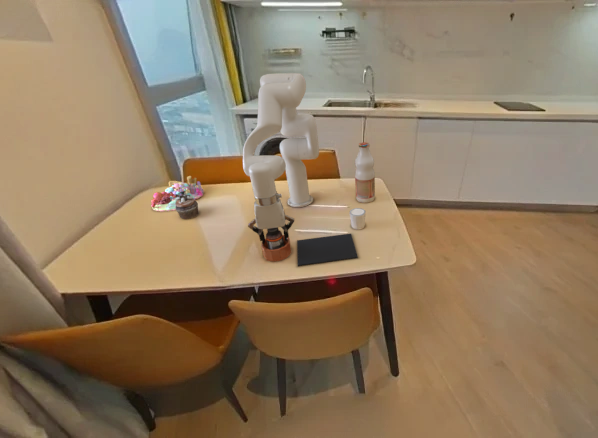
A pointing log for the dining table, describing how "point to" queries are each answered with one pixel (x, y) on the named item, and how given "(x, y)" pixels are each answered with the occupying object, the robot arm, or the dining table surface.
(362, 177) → the fruit juice
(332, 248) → the mat
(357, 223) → the white cup
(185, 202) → the cupcake
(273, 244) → the supplement bottle
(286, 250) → the holder
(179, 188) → the candy platter
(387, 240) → the dining table surface
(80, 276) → the dining table surface
